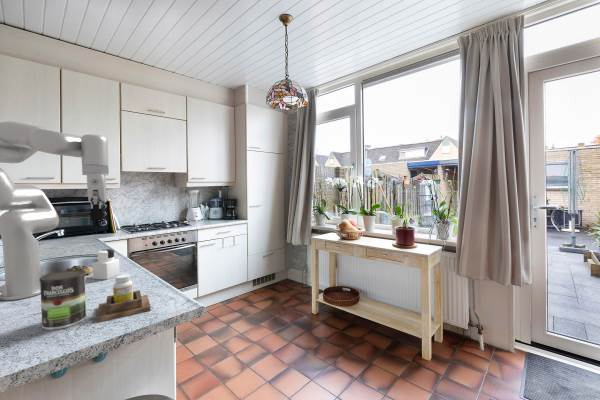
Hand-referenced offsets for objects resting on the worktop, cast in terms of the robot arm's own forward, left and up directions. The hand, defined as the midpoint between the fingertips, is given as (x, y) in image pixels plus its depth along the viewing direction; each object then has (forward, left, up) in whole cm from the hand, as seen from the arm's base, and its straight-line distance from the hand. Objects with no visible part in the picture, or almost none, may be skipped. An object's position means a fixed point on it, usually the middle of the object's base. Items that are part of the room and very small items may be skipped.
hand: (97, 219), depth 99 cm
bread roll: (-10, +39, -29) cm, 49 cm away
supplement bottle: (+7, -16, -27) cm, 32 cm away
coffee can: (-8, -16, -28) cm, 34 cm away
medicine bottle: (+1, +27, -28) cm, 39 cm away
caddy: (+7, -16, -28) cm, 33 cm away
